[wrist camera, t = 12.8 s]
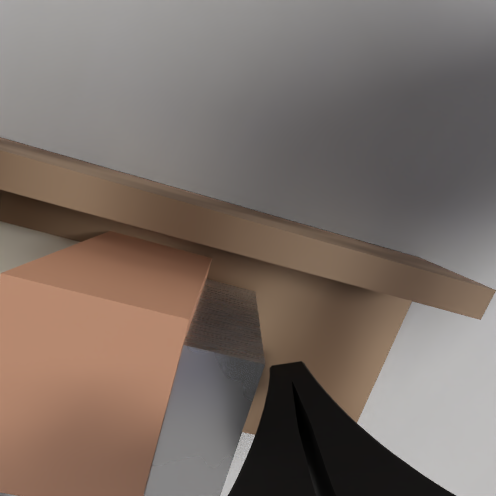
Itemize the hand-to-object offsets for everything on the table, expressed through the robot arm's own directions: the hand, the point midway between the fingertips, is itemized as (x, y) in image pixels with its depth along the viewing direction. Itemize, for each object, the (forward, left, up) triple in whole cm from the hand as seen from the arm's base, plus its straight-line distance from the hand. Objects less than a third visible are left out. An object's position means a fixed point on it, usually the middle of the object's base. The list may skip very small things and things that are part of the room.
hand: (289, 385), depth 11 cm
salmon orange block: (+6, -1, -1) cm, 6 cm away
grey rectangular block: (+3, 0, -1) cm, 3 cm away
